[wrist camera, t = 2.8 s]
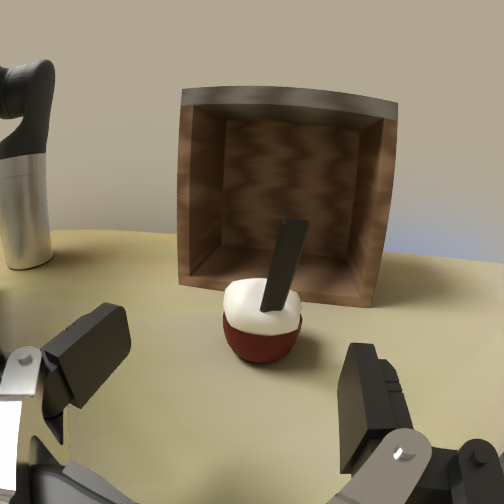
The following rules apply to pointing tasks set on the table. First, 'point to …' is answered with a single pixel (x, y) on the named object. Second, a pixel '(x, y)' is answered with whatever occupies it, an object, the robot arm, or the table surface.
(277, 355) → the cream-topped red cup
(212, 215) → the under counter cubby
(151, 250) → the table surface
